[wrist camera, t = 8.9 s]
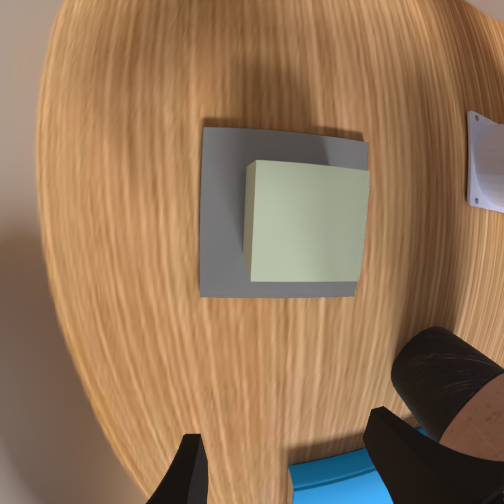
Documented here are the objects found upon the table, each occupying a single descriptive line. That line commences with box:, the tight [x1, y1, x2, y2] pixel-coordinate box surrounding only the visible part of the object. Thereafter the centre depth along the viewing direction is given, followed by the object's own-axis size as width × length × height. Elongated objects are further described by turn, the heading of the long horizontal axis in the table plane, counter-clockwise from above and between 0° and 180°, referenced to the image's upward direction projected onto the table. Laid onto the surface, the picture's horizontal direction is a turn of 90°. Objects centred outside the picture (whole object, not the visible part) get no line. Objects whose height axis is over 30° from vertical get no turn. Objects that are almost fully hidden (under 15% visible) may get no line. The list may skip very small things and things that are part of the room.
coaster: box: [200, 127, 368, 298], centre depth 17 cm, size 10×10×1 cm
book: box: [287, 427, 428, 504], centre depth 25 cm, size 17×4×25 cm
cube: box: [243, 160, 370, 282], centre depth 15 cm, size 5×5×5 cm
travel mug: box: [391, 327, 504, 500], centre depth 12 cm, size 8×8×20 cm
